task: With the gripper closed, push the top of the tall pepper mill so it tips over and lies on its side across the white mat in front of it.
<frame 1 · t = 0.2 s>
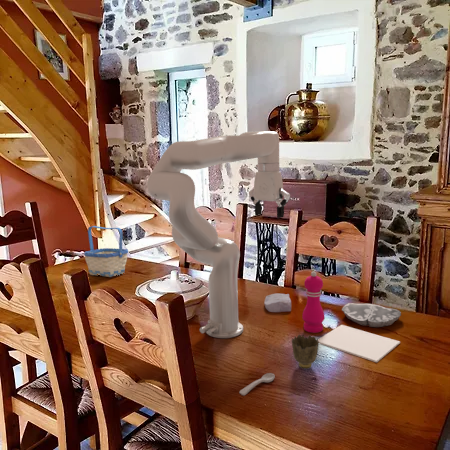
hand: (269, 216, 161), 36 cm above the table, fingers open, 9 cm apart
pepper mill: (313, 329, 151), on the table
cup: (305, 367, 127), on the table
basket: (107, 274, 220), on the table
spoon: (257, 387, 118), on the table
stone block: (277, 307, 172), on the table
brain slice: (370, 321, 157), on the table
white mat: (357, 342, 140), on the table
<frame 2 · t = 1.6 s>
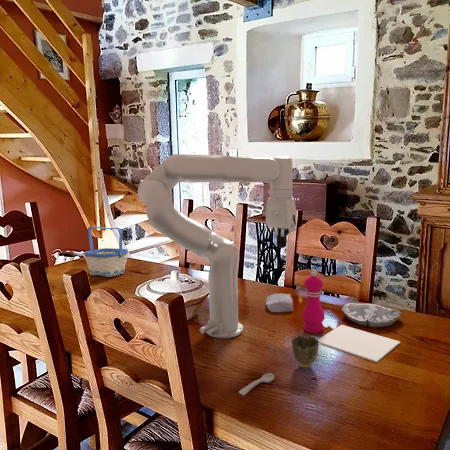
hand: (281, 246, 155), 26 cm above the table, fingers closed
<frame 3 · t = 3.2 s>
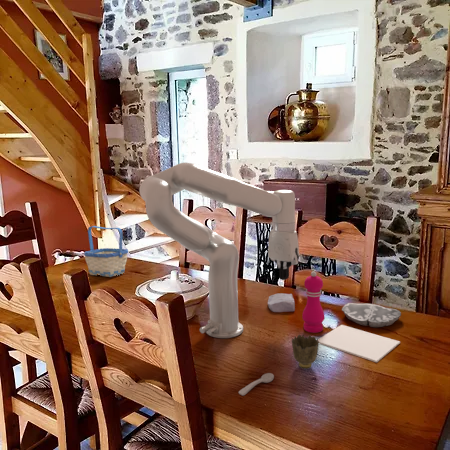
hand: (284, 278, 156), 15 cm above the table, fingers closed
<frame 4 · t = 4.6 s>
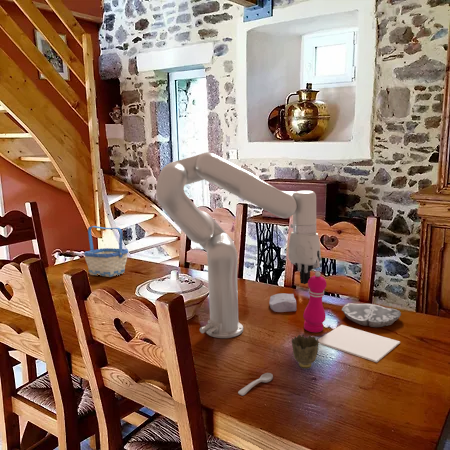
hand: (305, 282, 151), 15 cm above the table, fingers closed
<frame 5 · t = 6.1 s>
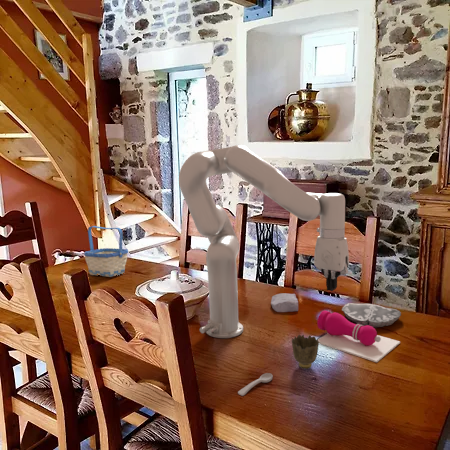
hand: (331, 289, 144), 15 cm above the table, fingers closed
pepper mill: (321, 319, 148), point 4 cm above the table, touching white mat
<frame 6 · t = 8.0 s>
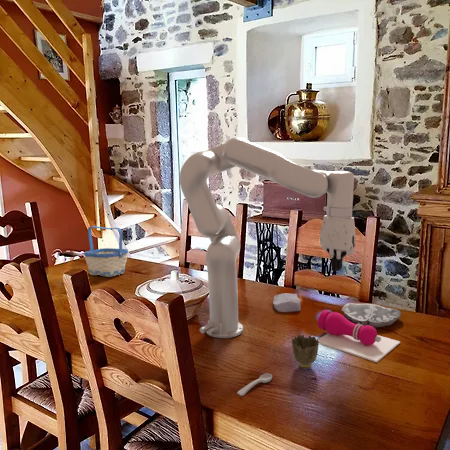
hand: (336, 270, 141), 22 cm above the table, fingers closed
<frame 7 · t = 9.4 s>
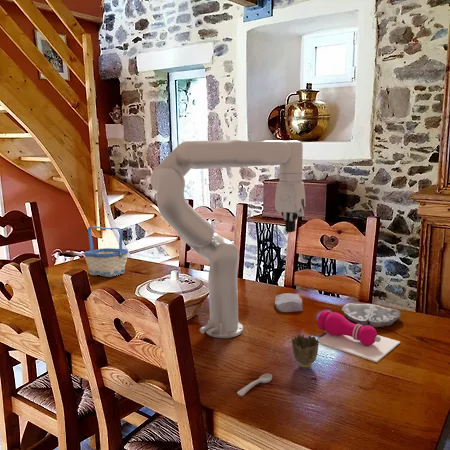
hand: (290, 231, 155), 31 cm above the table, fingers closed
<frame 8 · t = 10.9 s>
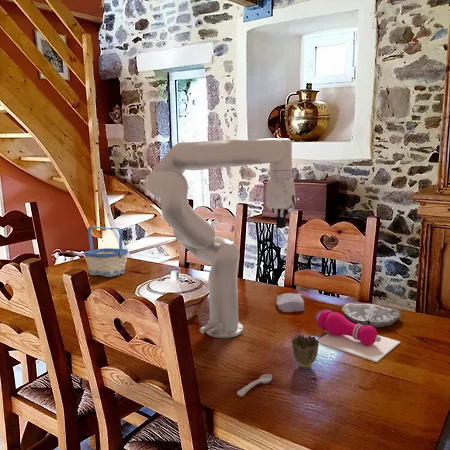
hand: (281, 227, 159), 32 cm above the table, fingers closed
at the end: pepper mill tilted 93°; pepper mill touching white mat; the gripper is holding nothing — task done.
